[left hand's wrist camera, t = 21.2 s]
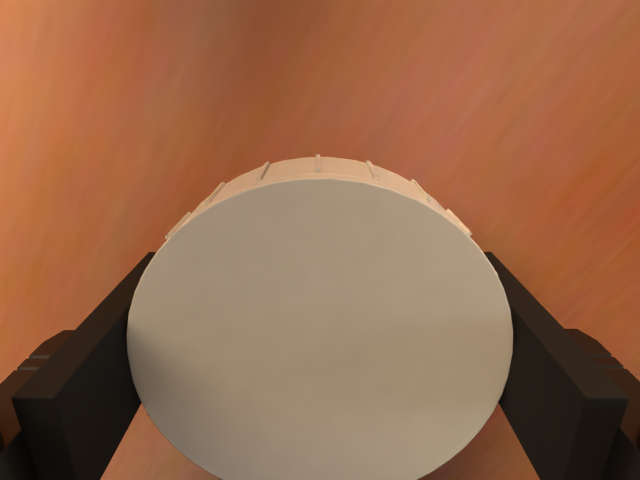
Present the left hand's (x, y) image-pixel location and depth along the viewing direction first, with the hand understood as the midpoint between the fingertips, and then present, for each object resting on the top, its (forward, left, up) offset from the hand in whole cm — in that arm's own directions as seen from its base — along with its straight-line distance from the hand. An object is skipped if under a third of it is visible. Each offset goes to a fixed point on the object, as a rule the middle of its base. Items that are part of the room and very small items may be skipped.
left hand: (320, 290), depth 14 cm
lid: (0, 0, +3) cm, 3 cm away
